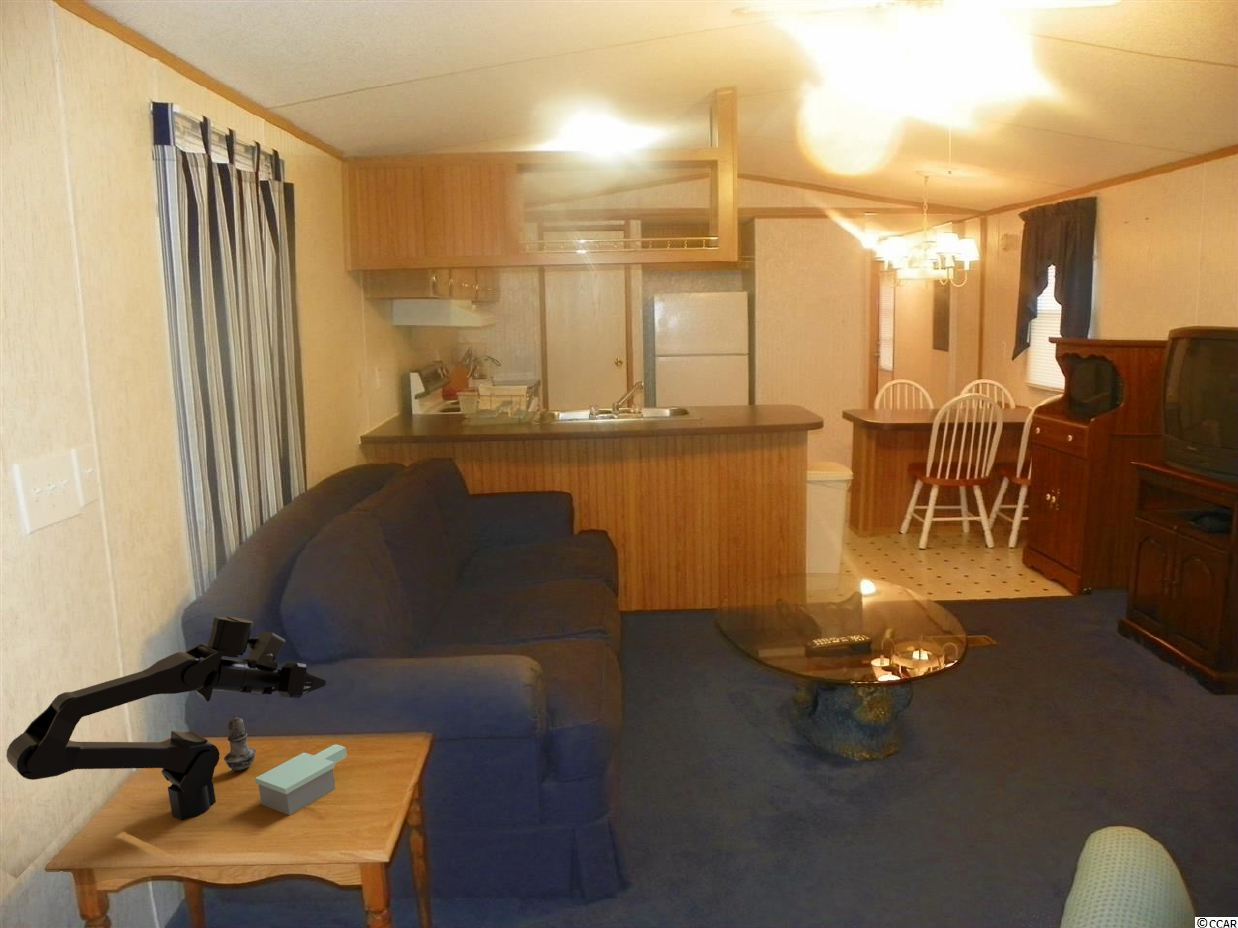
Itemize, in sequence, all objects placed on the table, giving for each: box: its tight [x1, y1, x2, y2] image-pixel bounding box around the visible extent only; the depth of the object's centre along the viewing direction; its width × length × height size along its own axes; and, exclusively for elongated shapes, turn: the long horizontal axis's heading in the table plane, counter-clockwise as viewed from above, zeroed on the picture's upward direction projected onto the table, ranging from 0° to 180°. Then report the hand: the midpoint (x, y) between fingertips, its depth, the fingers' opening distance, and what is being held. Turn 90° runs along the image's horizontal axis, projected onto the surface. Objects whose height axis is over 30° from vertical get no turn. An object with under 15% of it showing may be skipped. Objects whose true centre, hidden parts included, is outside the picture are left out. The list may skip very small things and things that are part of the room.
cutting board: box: [254, 743, 348, 794], centre depth 167 cm, size 16×9×2 cm, turn 147°
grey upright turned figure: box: [223, 714, 257, 776], centre depth 178 cm, size 6×6×12 cm
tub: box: [258, 768, 336, 816], centre depth 166 cm, size 10×8×5 cm
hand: (312, 682), depth 179 cm, fingers open, 9 cm apart
